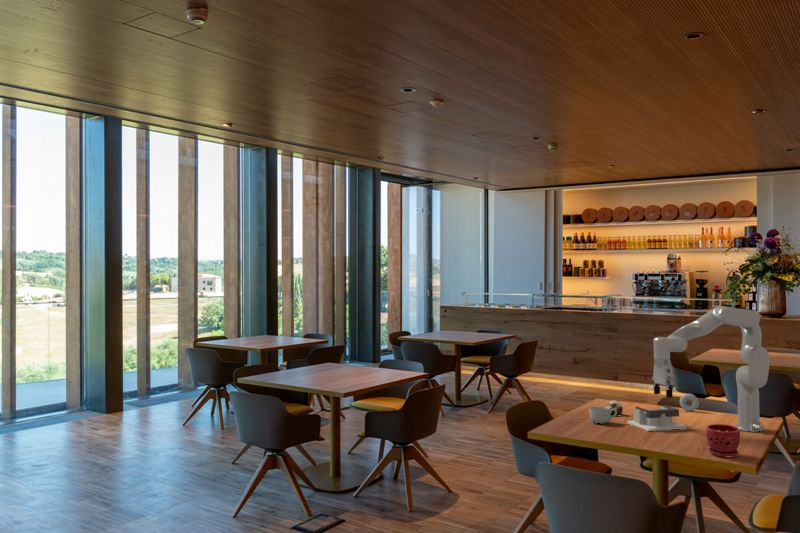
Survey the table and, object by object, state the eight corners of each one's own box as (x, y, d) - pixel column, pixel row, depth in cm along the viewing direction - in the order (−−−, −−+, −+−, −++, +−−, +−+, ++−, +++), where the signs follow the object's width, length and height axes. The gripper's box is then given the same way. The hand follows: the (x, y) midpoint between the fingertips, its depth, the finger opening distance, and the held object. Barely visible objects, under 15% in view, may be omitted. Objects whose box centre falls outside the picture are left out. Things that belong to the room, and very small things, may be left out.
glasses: (679, 416, 330) (678, 409, 330) (649, 418, 326) (649, 411, 326) (664, 411, 342) (664, 404, 342) (635, 413, 338) (635, 406, 338)
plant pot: (701, 450, 289) (701, 423, 289) (733, 451, 288) (732, 424, 288) (713, 459, 276) (712, 430, 276) (745, 459, 275) (745, 431, 275)
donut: (679, 410, 370) (679, 393, 370) (680, 409, 373) (679, 392, 373) (698, 412, 365) (698, 394, 365) (699, 411, 368) (699, 393, 368)
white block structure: (686, 428, 328) (686, 412, 328) (648, 431, 323) (648, 414, 323) (663, 421, 346) (663, 405, 346) (627, 423, 340) (627, 407, 340)
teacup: (588, 424, 340) (588, 409, 340) (590, 419, 350) (589, 404, 350) (616, 426, 335) (616, 410, 335) (617, 421, 345) (617, 406, 345)
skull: (601, 414, 357) (601, 398, 364) (602, 424, 365) (601, 408, 371) (624, 415, 354) (623, 398, 361) (624, 425, 361) (623, 408, 368)
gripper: (679, 363, 322) (681, 398, 322) (657, 359, 339) (658, 392, 339) (666, 364, 320) (667, 399, 320) (645, 360, 337) (646, 393, 337)
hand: (663, 395), depth 330 cm, fingers open, 9 cm apart
